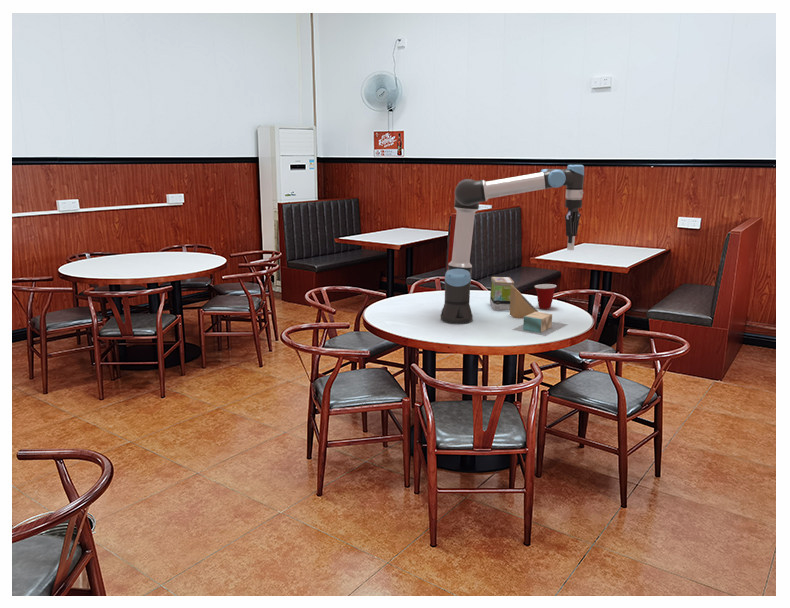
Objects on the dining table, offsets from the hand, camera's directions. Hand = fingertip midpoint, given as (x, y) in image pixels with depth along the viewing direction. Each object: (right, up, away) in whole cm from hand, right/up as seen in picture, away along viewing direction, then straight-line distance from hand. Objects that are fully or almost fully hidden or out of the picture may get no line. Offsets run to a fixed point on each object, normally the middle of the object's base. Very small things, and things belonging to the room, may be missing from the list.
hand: (570, 249), depth 291 cm
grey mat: (-17, -36, -11) cm, 42 cm away
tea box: (-28, -27, +27) cm, 47 cm away
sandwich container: (-19, -32, +9) cm, 38 cm away
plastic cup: (-6, -28, +25) cm, 38 cm away
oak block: (-15, -32, -10) cm, 37 cm away
